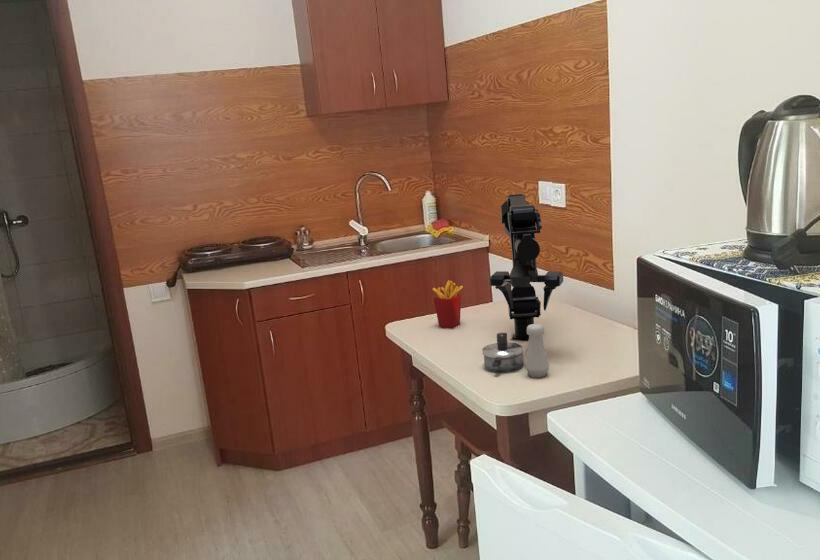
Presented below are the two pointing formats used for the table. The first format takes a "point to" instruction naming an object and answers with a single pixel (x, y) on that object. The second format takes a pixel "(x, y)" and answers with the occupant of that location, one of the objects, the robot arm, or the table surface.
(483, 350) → the lid
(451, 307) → the french fries
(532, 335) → the salt shaker
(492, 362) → the pot
